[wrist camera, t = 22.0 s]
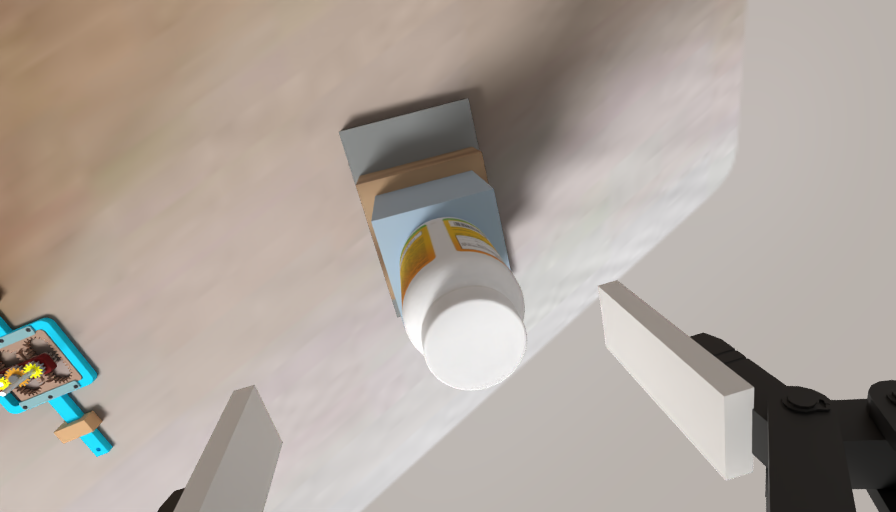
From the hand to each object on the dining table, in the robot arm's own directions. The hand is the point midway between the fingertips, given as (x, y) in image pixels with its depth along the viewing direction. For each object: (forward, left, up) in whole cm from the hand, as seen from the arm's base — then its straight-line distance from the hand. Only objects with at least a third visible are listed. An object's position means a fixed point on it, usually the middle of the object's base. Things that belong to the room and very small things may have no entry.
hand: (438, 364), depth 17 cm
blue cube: (0, +2, -17) cm, 17 cm away
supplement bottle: (0, +2, -10) cm, 10 cm away
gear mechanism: (+4, -35, -23) cm, 42 cm away
